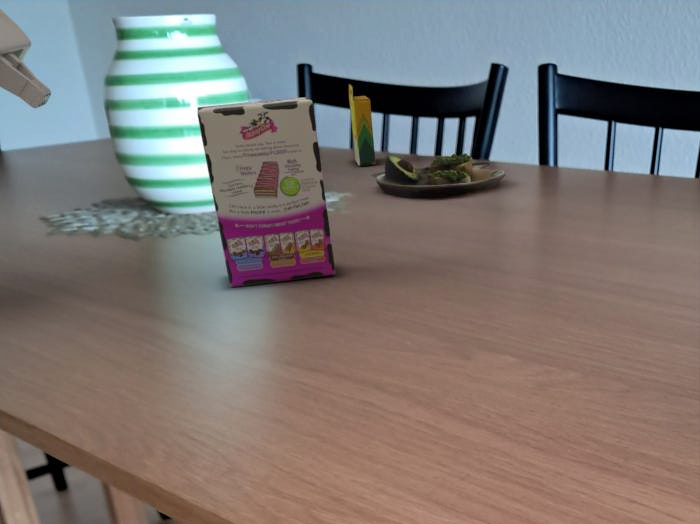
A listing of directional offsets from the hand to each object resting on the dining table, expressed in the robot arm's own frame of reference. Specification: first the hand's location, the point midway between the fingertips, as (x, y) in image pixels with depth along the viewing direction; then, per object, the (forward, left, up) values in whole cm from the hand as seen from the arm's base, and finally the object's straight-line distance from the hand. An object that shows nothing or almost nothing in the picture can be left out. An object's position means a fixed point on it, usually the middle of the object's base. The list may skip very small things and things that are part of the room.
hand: (44, 101), depth 97 cm
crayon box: (+30, +75, -18) cm, 83 cm away
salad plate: (+40, +46, -18) cm, 63 cm away
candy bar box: (+20, -1, -18) cm, 27 cm away
